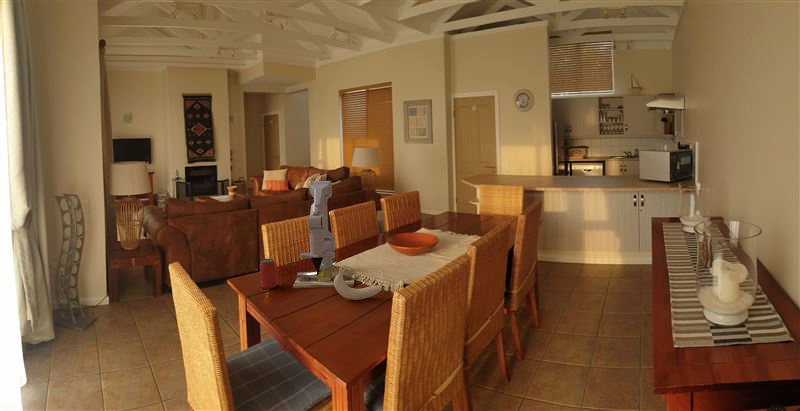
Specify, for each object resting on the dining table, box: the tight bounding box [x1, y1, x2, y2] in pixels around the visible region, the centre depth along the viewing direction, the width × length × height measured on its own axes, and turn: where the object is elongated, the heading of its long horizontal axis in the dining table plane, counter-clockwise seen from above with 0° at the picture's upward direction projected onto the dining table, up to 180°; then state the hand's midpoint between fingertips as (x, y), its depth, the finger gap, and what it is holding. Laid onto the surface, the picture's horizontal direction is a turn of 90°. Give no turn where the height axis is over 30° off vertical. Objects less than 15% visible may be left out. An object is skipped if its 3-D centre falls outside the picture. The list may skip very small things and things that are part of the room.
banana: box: [334, 267, 383, 301], centre depth 191 cm, size 5×19×15 cm, turn 100°
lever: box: [319, 263, 327, 276], centre depth 207 cm, size 13×2×2 cm, turn 3°
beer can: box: [259, 258, 278, 290], centre depth 208 cm, size 7×7×12 cm
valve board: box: [292, 273, 356, 289], centre depth 213 cm, size 14×26×1 cm, turn 92°
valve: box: [296, 267, 353, 282], centre depth 213 cm, size 5×24×6 cm, turn 92°
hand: (318, 274), depth 204 cm, fingers closed
